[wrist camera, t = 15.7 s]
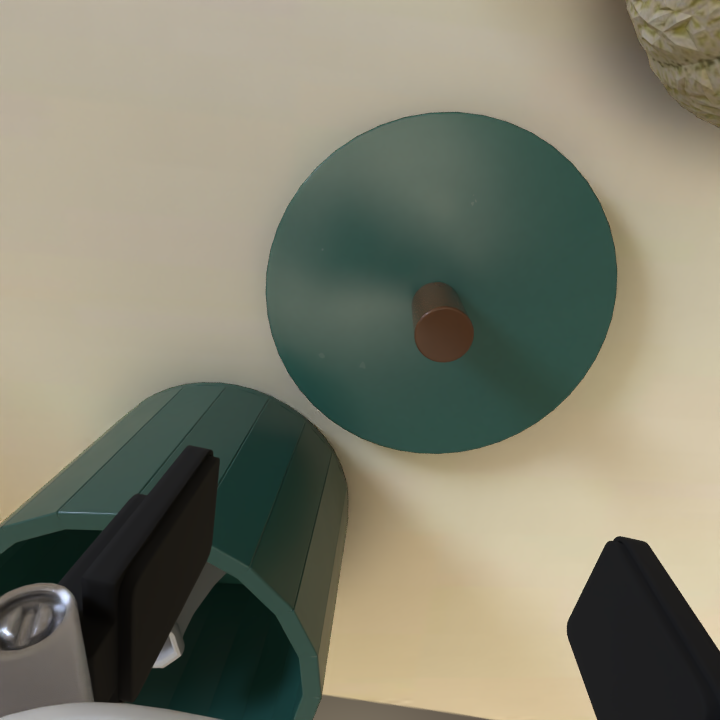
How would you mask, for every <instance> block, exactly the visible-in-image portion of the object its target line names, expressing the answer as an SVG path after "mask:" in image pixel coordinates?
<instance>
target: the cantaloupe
mask: <svg viewBox="0 0 720 720" xmlns="http://www.w3.org/2000/svg"><path fill="white" fill-rule="evenodd" d="M626 8H627V11H628V14H629V16H630V18H631V21H632V23H633V26H634V29H635V32H636V35H637V37H638V40H639V42H640V44H641V46H642V47H643V48H644V49H645V51H646V53H647V56H648V60H649V65H650V67H651V69H652V70H653V72H654V73H655V74H656V76H657V77H658V78H659V79H660V81H661V82H662V83H663V85H664V87H665V88H666V90H667V91H668V93H669V94H670V95H671V96H672V97H673V98H675V100H676V101H677V102H678V103H679V104H680V105H681V106H682V107H683V108H685V109H686V110H688V111H690V112H691V113H693V114H695V115H696V117H698V118H700V119H702V120H704V121H707V122H709V123H711V124H714V125H715V126H717V127H718V128H720V0H626Z"/></svg>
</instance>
